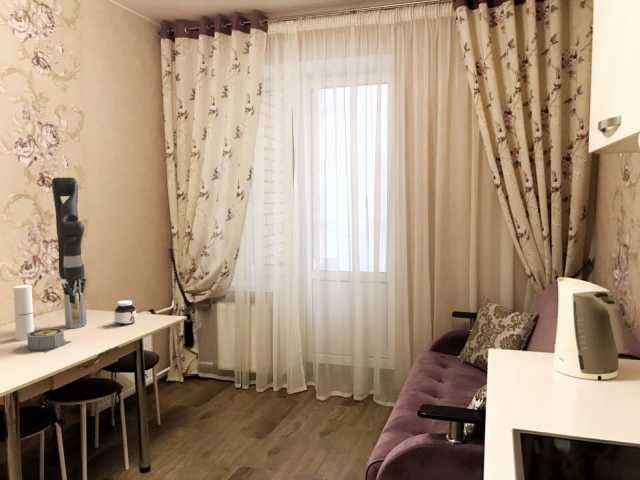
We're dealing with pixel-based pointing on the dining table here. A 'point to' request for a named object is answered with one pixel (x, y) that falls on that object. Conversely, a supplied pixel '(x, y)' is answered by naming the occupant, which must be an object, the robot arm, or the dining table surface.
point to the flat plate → (44, 350)
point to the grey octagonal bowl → (45, 339)
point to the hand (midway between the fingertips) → (75, 302)
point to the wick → (76, 310)
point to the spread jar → (125, 313)
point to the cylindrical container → (23, 311)
